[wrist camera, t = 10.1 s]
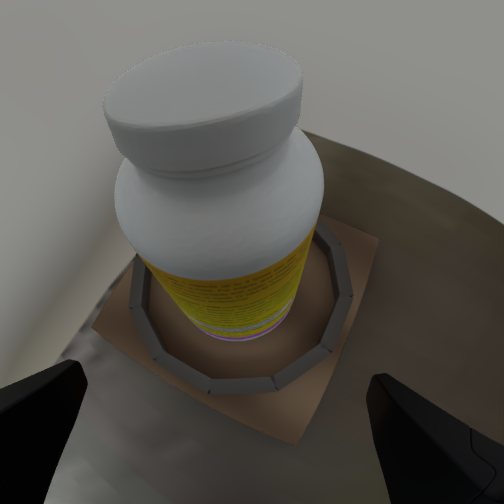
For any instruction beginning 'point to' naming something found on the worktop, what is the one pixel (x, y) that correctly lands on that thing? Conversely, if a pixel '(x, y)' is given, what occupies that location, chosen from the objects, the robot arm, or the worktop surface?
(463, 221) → the worktop surface
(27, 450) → the robot arm
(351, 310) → the locating board
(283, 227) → the supplement bottle
